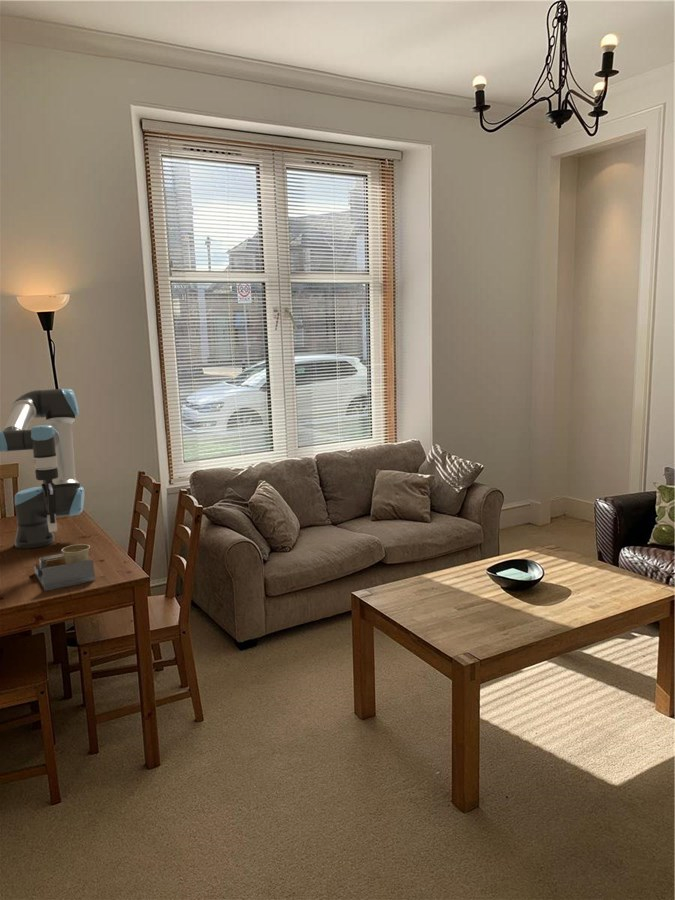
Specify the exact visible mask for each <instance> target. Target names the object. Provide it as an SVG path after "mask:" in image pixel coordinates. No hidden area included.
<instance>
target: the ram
mask: <svg viewBox="0 0 675 900" xmlns="http://www.w3.org/2000/svg"><path fill="white" fill-rule="evenodd" d="M38 560H39V567H40V568H41V570H42V569H43V568H48V567H53V566H58V565H64V564H66V560H65V556H64V555H63V552H61V553H58V554H54V555H53V554H51V555H47V556H41V557H39V558H38Z"/></svg>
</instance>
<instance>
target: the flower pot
mask: <svg viewBox="0 0 675 900" xmlns="http://www.w3.org/2000/svg"><path fill="white" fill-rule="evenodd" d="M90 548H91V545H90V544H85V543H80V544H79V543H78V544H72V545H68V546H65V547H63V548H61V553H63V555H64V556H65V560H66V564H69V563H74V562H79V561H84V560H89V552H90Z"/></svg>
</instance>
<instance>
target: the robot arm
mask: <svg viewBox="0 0 675 900" xmlns="http://www.w3.org/2000/svg"><path fill="white" fill-rule="evenodd" d="M79 415H80V412H79V406H78V401H77V397H76V394H75V392H74V390H73V389H72V388H71V389H70V388H56V389H55V388H54V389H41V390H40V389H37V390H31V391H28V392H26V393H23V394H22V395H20V396H19V397H17V399H15V400H14V402H13V403H12V405H11V408H10V415H9V418H8V420H7V422H6V424H5V427H4V429H3V430H0V453H1V452H5V453H7V452H18V451H27V450H28V451H31V450H32V452H33V460H32V461H31V462H32V463H33V464H34V468H35V470H34V471H35V472H34V473H35V479H36V481H42V483H41V486H34V487H28V488H27V489H26V488H25V489H23V490H19V491H17V492H16V493H15V494H14V507H15V514H16V523H17V529H16V535H15V538H14V547H15V548H17V549H21V550H22V549H23V550H24V549H25V550H28V549H36V548H42V547H45V546H48V545H51V544H53V543H54V542H55V534H54V533H53V532H58V523H57V518H60V517H61V518H62V517H72V516H77V515H81V514H82V513H83V510H84V506H85V505H84V504H85V488H84V487H83V486H81V483H80V482H79V481H78V480H77V478H76V477H77V476H76V463H75V452H74V451H75V450H74V434H73V424H74V422H75V421H76V417H77V416H79ZM38 418H42V419H43V418H45V422H46V423H48V424H43V425H41V424H40V425H34V426H32V427H31V429H28V428H29V426H30V423H31V421H32V420H34V419H38Z"/></svg>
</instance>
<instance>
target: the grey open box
mask: <svg viewBox="0 0 675 900" xmlns="http://www.w3.org/2000/svg"><path fill="white" fill-rule="evenodd" d="M33 566H34V568H33V569H34V574H35V576H36V577H37V580H39V583H40V585H41V586H42V588H43V590H44V592H48V591H52V590H56V589H57V590H58V589H62V588H66V587H72V586H76V585H81V584H84V583H89V582H90V583H91V582H94V581H96V578H95V568H94V567H95V566H94V560H93V559H92V558H91V559H89V558H88V560H84V561H79V562H74V563H69V564H64V565H58V566H53V567H48V568H43V569H42V570H41V568H40V564H39V562H37V563H34V564H33Z"/></svg>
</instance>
